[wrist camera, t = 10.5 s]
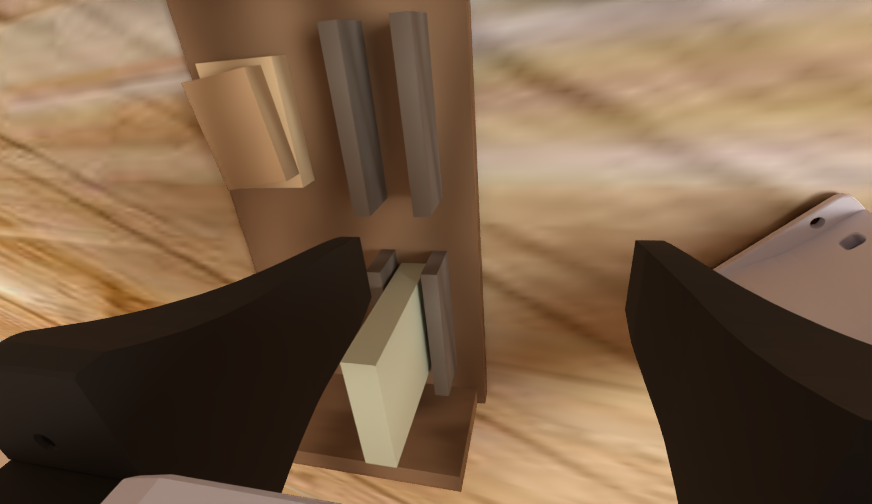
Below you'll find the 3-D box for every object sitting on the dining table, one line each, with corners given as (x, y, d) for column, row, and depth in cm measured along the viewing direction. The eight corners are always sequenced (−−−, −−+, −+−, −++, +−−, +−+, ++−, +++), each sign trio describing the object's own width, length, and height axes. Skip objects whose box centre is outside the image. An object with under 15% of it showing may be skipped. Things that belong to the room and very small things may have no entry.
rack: (465, -113, 16) (414, -203, 10) (487, 391, 27) (470, 493, 21) (164, -57, 19) (-13, -96, 13) (299, 370, 31) (239, 453, 25)
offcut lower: (285, 54, 19) (270, 56, 18) (314, 180, 22) (303, 187, 21) (213, 61, 20) (195, 63, 19) (249, 181, 23) (235, 188, 22)
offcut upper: (260, 65, 18) (243, 67, 17) (299, 173, 20) (286, 181, 19) (200, 80, 19) (181, 83, 18) (243, 182, 21) (228, 190, 20)
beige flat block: (427, 263, 23) (375, 365, 16) (437, 349, 25) (396, 467, 18) (401, 262, 23) (339, 362, 16) (413, 346, 26) (365, 462, 19)
